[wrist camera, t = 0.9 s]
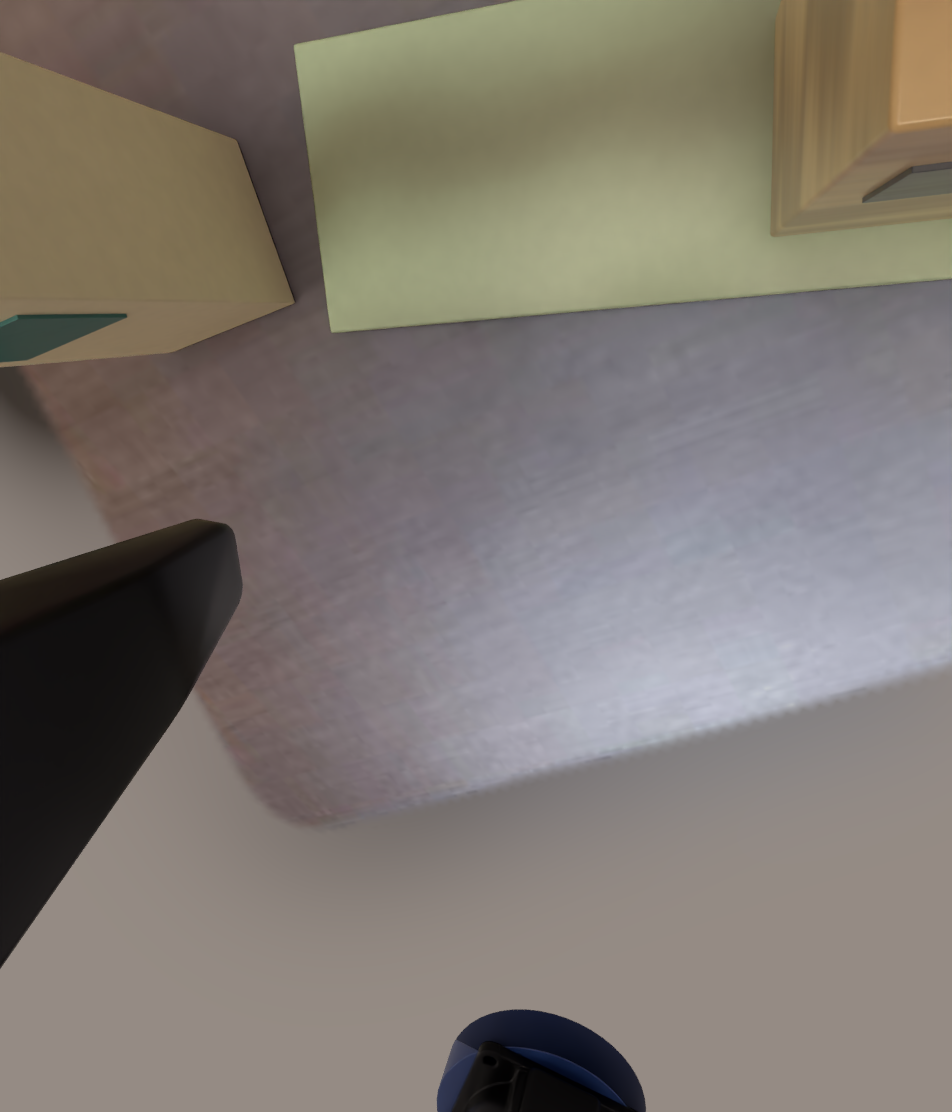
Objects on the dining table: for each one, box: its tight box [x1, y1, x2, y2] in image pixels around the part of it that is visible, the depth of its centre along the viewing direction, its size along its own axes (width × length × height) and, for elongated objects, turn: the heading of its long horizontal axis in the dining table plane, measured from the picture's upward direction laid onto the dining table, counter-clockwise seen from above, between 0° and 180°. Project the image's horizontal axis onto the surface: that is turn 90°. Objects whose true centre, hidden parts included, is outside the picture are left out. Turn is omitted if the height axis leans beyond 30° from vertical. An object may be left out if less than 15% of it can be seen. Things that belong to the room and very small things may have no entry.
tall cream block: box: [0, 52, 295, 367], centre depth 17 cm, size 5×5×12 cm
